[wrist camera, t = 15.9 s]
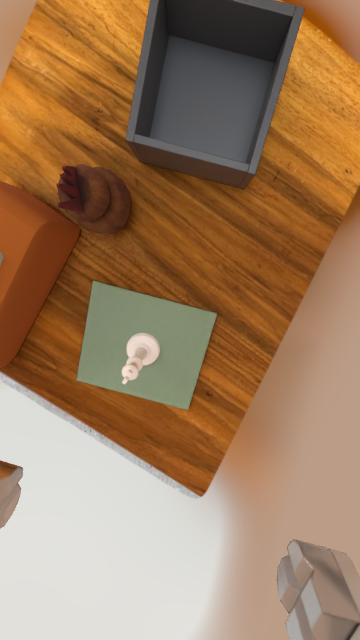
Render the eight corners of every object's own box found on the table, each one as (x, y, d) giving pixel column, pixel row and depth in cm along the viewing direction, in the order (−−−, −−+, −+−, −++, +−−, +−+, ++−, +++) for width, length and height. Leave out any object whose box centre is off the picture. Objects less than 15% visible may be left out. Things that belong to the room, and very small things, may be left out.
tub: (281, 61, 30) (305, 7, 23) (244, 189, 33) (255, 174, 27) (164, 30, 30) (155, -33, 23) (139, 161, 33) (125, 140, 27)
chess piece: (121, 353, 40) (96, 386, 30) (137, 326, 38) (116, 351, 29) (149, 369, 40) (133, 407, 30) (166, 344, 39) (155, 375, 29)
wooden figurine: (129, 240, 36) (81, 234, 21) (88, 228, 36) (13, 213, 21) (141, 188, 34) (98, 142, 20) (98, 175, 34) (23, 119, 20)
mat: (216, 312, 38) (217, 313, 37) (188, 408, 42) (187, 410, 41) (94, 280, 38) (92, 280, 37) (77, 378, 42) (76, 380, 41)
